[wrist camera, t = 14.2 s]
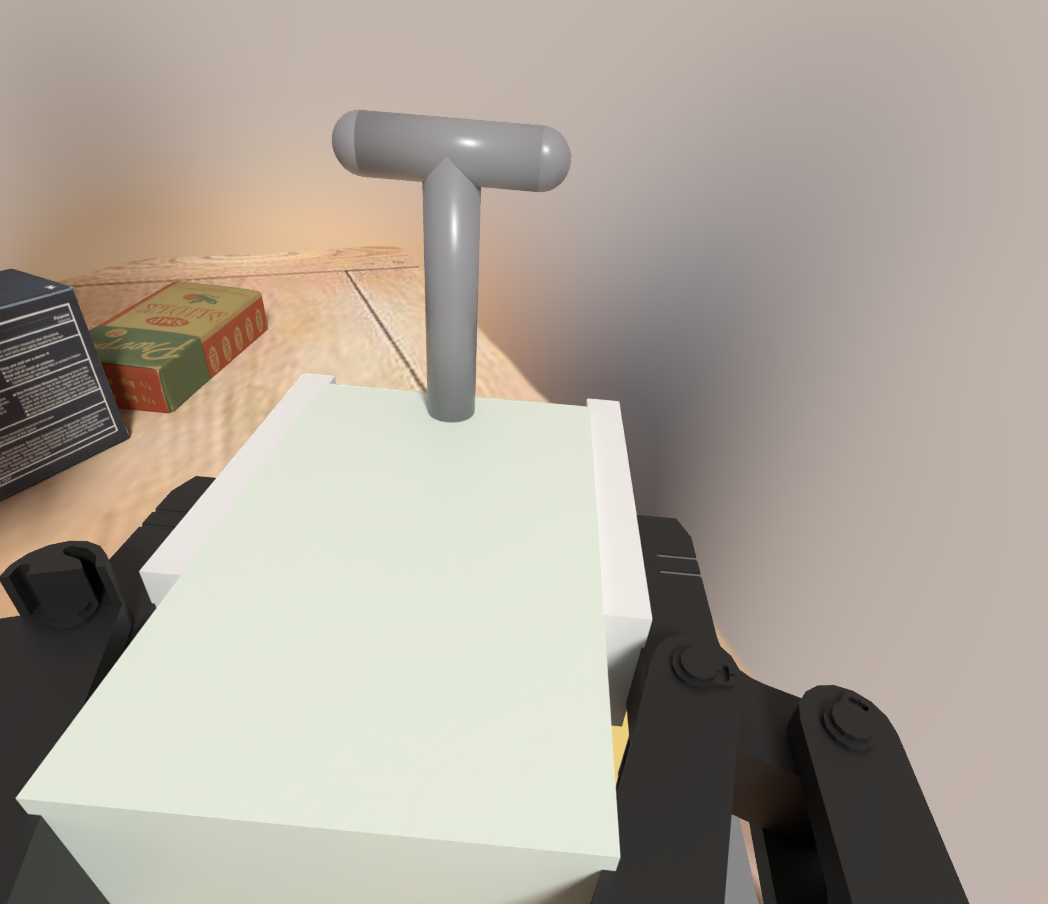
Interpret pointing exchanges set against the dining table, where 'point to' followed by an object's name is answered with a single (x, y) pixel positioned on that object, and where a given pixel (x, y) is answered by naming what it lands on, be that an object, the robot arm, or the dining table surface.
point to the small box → (49, 384)
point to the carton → (176, 342)
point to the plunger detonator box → (374, 630)
